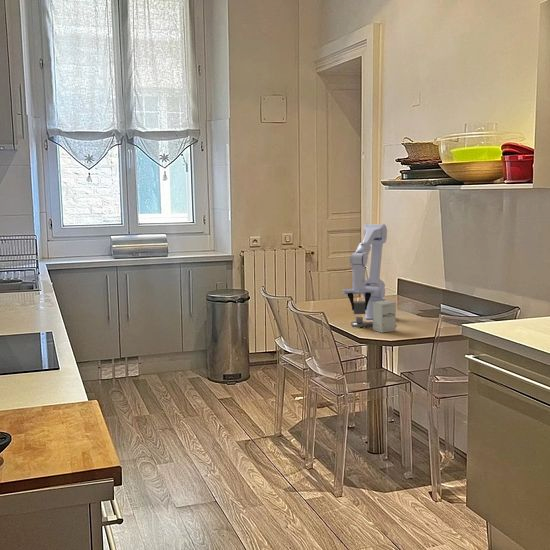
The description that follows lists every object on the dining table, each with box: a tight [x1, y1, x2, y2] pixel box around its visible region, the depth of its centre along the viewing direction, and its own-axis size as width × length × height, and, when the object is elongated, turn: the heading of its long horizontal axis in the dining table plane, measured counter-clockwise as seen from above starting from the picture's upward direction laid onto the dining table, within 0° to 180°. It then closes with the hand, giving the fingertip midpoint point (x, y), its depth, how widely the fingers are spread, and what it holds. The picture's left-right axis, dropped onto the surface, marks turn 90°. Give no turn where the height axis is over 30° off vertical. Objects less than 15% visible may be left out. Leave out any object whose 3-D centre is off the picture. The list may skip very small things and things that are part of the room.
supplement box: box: [372, 299, 397, 333], centre depth 304 cm, size 7×7×13 cm
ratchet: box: [350, 316, 373, 328], centre depth 315 cm, size 19×8×4 cm, turn 87°
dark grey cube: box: [352, 300, 366, 315], centre depth 314 cm, size 5×5×5 cm
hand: (359, 309), depth 315 cm, fingers closed on dark grey cube, 5 cm apart
